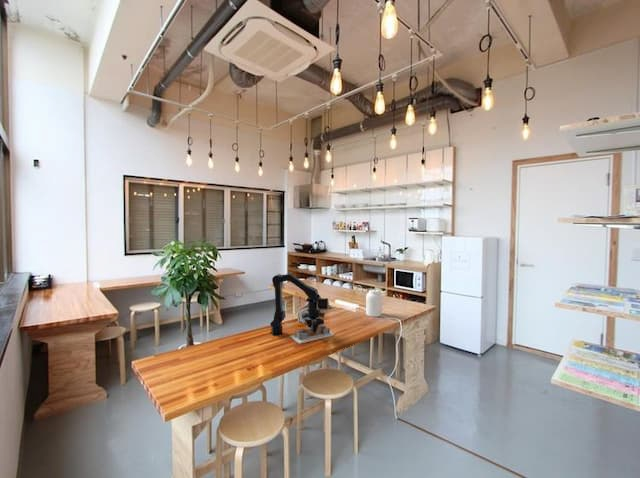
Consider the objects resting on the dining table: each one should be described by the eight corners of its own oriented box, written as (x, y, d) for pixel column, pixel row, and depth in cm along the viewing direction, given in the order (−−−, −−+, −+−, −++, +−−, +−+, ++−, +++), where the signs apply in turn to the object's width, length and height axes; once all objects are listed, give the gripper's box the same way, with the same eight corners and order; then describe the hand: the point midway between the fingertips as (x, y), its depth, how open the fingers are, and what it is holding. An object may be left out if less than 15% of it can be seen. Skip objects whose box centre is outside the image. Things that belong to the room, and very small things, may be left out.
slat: (301, 338, 192) (301, 330, 192) (299, 336, 195) (299, 329, 195) (325, 333, 201) (325, 325, 201) (323, 331, 204) (323, 324, 204)
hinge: (302, 323, 224) (299, 309, 226) (298, 324, 227) (295, 310, 229) (318, 318, 235) (315, 305, 237) (314, 319, 238) (312, 306, 240)
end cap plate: (299, 343, 186) (299, 336, 186) (290, 337, 196) (290, 330, 196) (334, 335, 200) (334, 328, 200) (324, 329, 210) (324, 323, 210)
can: (363, 313, 249) (363, 289, 248) (375, 311, 255) (376, 288, 254) (371, 317, 238) (372, 292, 237) (384, 315, 243) (385, 291, 242)
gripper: (331, 309, 194) (330, 333, 195) (315, 303, 209) (315, 325, 210) (316, 312, 188) (316, 337, 189) (301, 305, 203) (301, 328, 204)
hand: (312, 331), depth 198 cm, fingers open, 5 cm apart
